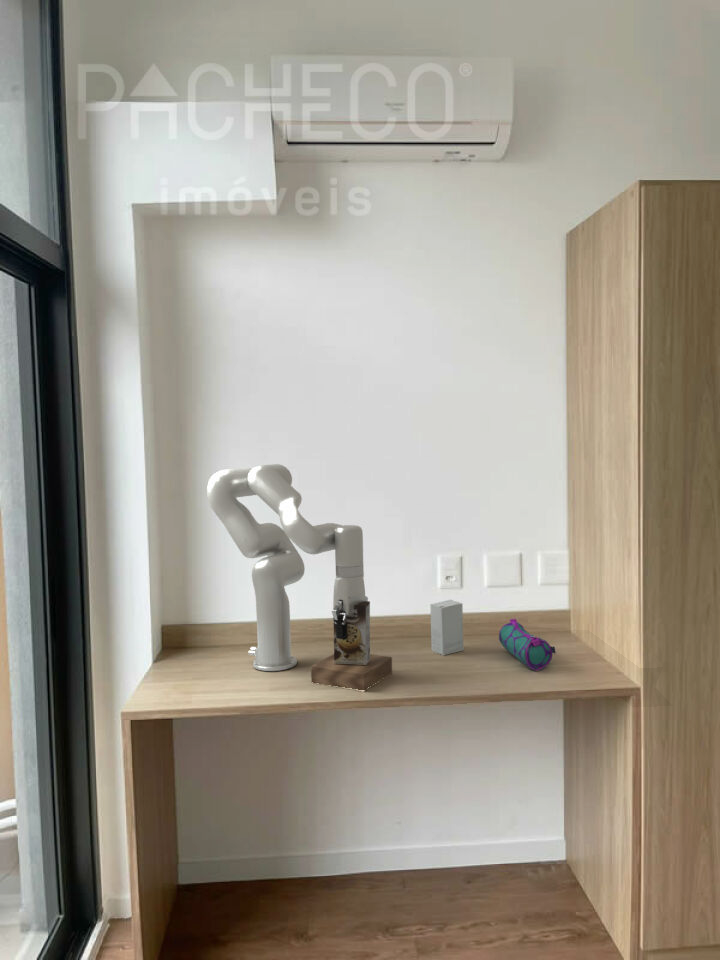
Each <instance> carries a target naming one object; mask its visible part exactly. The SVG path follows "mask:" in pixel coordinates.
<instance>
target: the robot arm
mask: <svg viewBox="0 0 720 960" xmlns="http://www.w3.org/2000/svg"><path fill="white" fill-rule="evenodd" d="M292 483H293V476H292V473H291V471H290V470H289V468H287V467H286V466H285V465H282V464H279V463H276V464H273V463H272V464H262V465H258V466H255V467H243V468H231V469H223V470H219V471H218V472H216V473H214V474H212V476H211V477H210V479H209V480H208V482H207V489H206V493H207V494H206V496H207V500H208V503H209V505H210V507H211V509H212V511H213V512H214V513H215V516H217V517H218V519H219V520H220V521H221V523H222V524H223V525H224V527H225V529H226V531H227V533H228V534H229V535H230V537H231V539H232V541H233V542H234V543H235V545H236V547H237V548H238V550H239V552H240V553H241V554H242V555H243V556H244V557H246V558H247V559H257V558H260V559H259V560H258V561H257V562H256V563H255V564H254V566H253V567H252V571H251V579H252V585H253V589H254V595H255V607H256V611H255V612H256V631H257V634H256V635H257V637H256V638H257V646H251V647H250V649H249V650H248V656H254V658H255V659H254V660H253V661H252V667H253V668H254V669H256V670H259V671H263V672H277V671H285V670H288V669H291V668H294V667H295V666H296V665H297V663H298V660H297V658H296V657H295V656H293V655H292V645H291V644H292V643H291V642H292V640H291V613H290V600H289V596H288V594H287V591H286V589H285V587H286V586H289V585H292V584H295V583H297V582H299V581H300V580H301V579H302V578H303V576H304V574H305V571H306V570H305V562H304V560H303V558H302V557H301V555H300V553H299V552H298V550H297V548H296V547H298V548H299V549H300V550H301V551H302V552H304V553H307V554H309V555H318V554H323V553H326V552H330V551H331V552H332V551H333V550H334V555H335V557H334V559H335V560H334V561H335V579H334V585H333V598H332V599H333V602H332V603H333V604H332V607H333V608H332V610H331V614H332V618H333V622H334V621H335V624H336V638H337V639H344V640H346V639H348V632H347V624H346V621H347V618H348V616H351V615H352V614H353V609H354V605H356V604H358V603H361V602H364V601H369V598H368V596H367V595H366V587H365V579H364V574H365V573H364V572H365V571H364V540H363V539H364V538H363V537H364V535H363V529H362V527H361V526H359V525H354V524H348V525H347V524H346V525H345V524H344V525H343V524H339V523H333V522H326V523H321V524H317V525H312V524H311V523H310V522H309V521H308V520H306V519H305V518H304V517H303V515H301V513H300V510H298V509H299V507H300V506H301V504H302V500H303V499H302V494H301V493H300V492H298V491H297V490H296V489H295V488H294V487H293V486H292ZM251 496H257V497H258V498H260V499H261V501H263V502H264V503H265V504H266V505H267V506H268V507H269V508H270V509H272V511H273V512H274V513H276V514H277V516H278V517H279V521H280V525H281V527H280V526H279V525H277V524H276V523H272V522H265V523H260V522H258V521H257V520H256V518H255V517H254V516H253V514H252V513H251V511H250V510H249V509H248V507H247V506H245V505H244V504H243V503H242V502H240V501H239V500H238V498H243V497H251ZM294 544H295V545H294ZM265 556H266V557H265ZM261 557H262V558H261ZM341 611H344V612H346V613H343V612H341ZM341 616H344V618H343V619H342V618H341Z"/></svg>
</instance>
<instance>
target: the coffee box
mask: <svg viewBox="0 0 720 960" xmlns="http://www.w3.org/2000/svg"><path fill="white" fill-rule="evenodd" d="M370 610H371V602H370V601H369V600H368V601H364V602H361V603H358V604H356V605H354V609H353V614H352V615H351V616H348V618H347V621H346V624H347V632H348V639H346V640H344V639H337V638H336V624H335V621H334V620H333V654H334V663H335V664H354V665H366V664H367V663H368V662H369V660H370V654H371V611H370ZM341 612H343V613H346V612H344V611H341ZM341 618H342V619H343V618H344V616H341Z"/></svg>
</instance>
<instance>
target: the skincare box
mask: <svg viewBox="0 0 720 960" xmlns="http://www.w3.org/2000/svg"><path fill="white" fill-rule="evenodd" d="M463 609H464V608H463V603H462V602H459V601H455V600H454V599H453V600H452V599H448V600H444V601H439V602H435V603H434V602H433V603H430V632H431V633H430V634H431V636H430V637H431V639H430V640H431V651H432V652H433V651H434V653H436V654H438V653H439V655H440V654H441V655H440V656H443V655H444V656H446V655H450V654H453V653H457V652H461V651H464V618H463V617H464V616H463V613H464V611H463Z"/></svg>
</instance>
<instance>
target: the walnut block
mask: <svg viewBox="0 0 720 960" xmlns="http://www.w3.org/2000/svg"><path fill="white" fill-rule="evenodd" d="M392 659H393V658H392V656H386V655H384V656H383V655H378V654H371V653H370V660H369V662H368V663H367V664H366V665H354V664H335V663H334V653H333V654H331V655H330V656H328V657H326V658H324V659H322V660H320V661H319V662H317V663H314V664H313V665H311V666H310V674H311V675H310V676H311V678H310V679H311V683H312V682H313V683H312V684H316V683H319V684H318V685H321V684H325V685H324V686H327V685H331V686H330V687H333V686H338V687H345V688H352V689H358V690H366V689H367V688H368V687H370V686H372V685H373V684H375V683H377V682H378V681H380V680H381V681H382V679H383V678H384V679H386V678H387V677H389V676H390V675H392V674H393V662H392V661H393V660H392ZM391 673H392V674H391ZM388 675H389V676H388ZM386 676H387V677H386ZM385 677H386V678H385ZM384 679H383V680H384ZM381 681H380V682H381ZM378 683H379V682H378ZM378 683H377V684H378ZM375 685H376V684H375ZM338 687H337V688H338ZM372 687H373V686H372ZM366 691H367V690H366Z"/></svg>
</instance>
